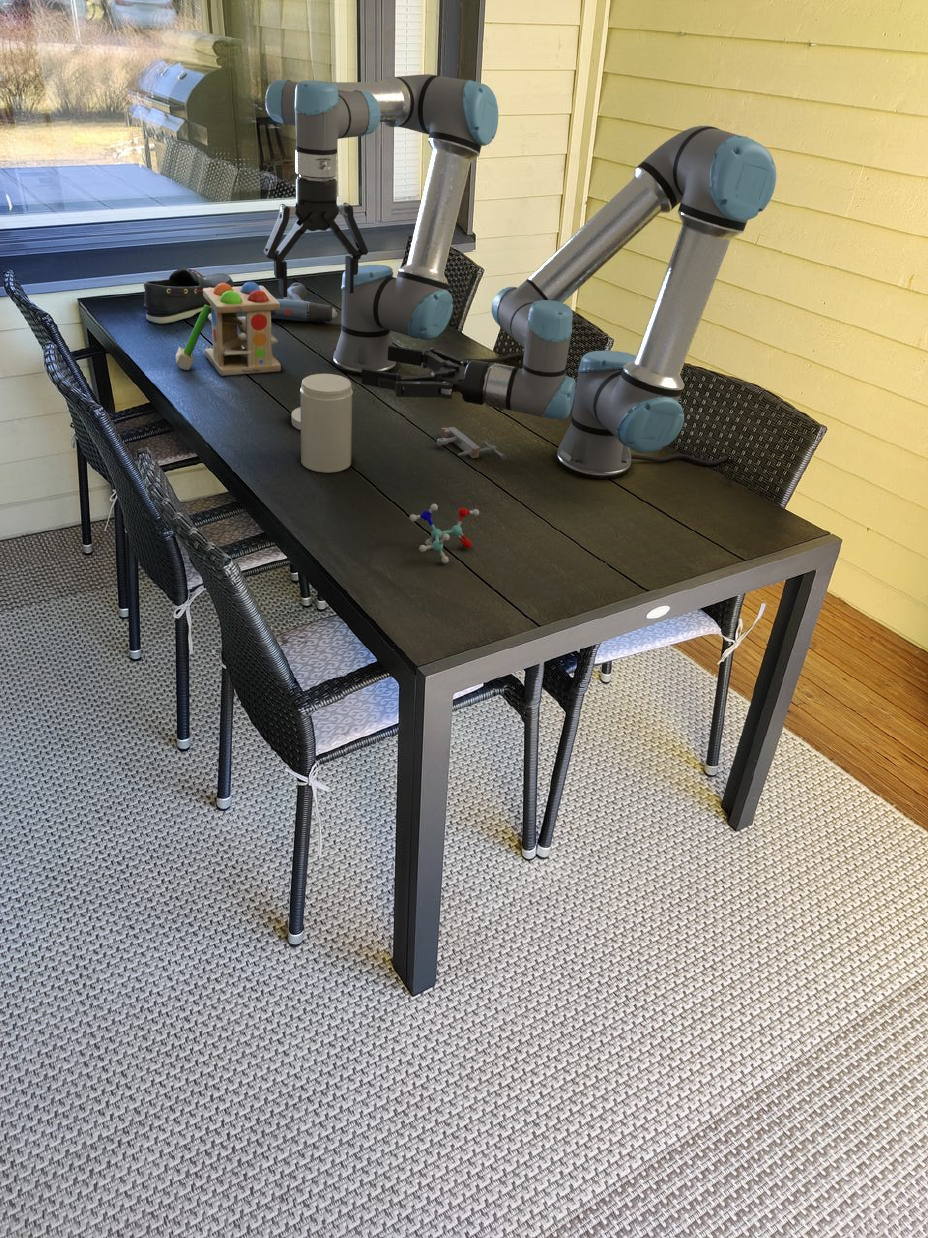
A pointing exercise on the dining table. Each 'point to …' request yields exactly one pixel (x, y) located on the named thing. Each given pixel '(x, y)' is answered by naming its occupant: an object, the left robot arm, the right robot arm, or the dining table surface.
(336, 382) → the jar
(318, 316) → the power drill
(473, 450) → the clamp
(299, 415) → the lid
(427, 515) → the molecular model
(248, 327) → the pounding bench toy
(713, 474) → the dining table surface
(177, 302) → the boat shoe
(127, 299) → the dining table surface
